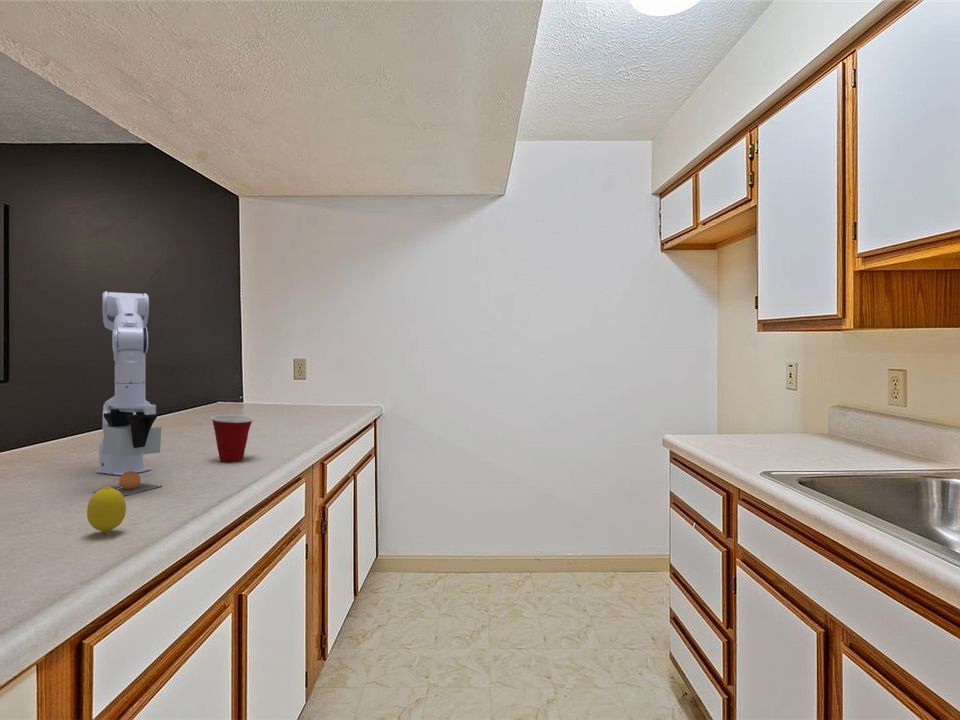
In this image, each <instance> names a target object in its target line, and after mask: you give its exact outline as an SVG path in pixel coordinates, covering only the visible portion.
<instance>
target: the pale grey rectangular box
mask: <svg viewBox="0 0 960 720" xmlns="http://www.w3.org/2000/svg"><path fill="white" fill-rule="evenodd" d="M103 438H104V441H103V454H106V455H112V456H118V457H122V456H132V455H141V454H143V455H148V454H149V455H150V454H159V453H161V443H162V442H161V441H162V427H161V426H154V425H152V426H151V428H150V431H149V434H148V437H147V441H146V444H145V447H140V448H134V446H133V441H132V431H131V427H130V426H121V427H104V433H103Z"/></svg>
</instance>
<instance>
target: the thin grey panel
mask: <svg viewBox="0 0 960 720" xmlns="http://www.w3.org/2000/svg"><path fill="white" fill-rule="evenodd" d="M160 486H161V485H157V484H151V483H144V482H140V484H139V485H138V486H137V487H136V488H135V489H131V490H125V489H123V488H121V486H120V485H118V487H117V486H114V487H112V488H113V489H116V490H118V491H119V492H121V494H122V495H123V497H126V496H125V495H127V496H130V495H129V494H131V495H134V494H133V493H135V494H138V493H137V492H139V493H141V492H140V491H143V492H146V491H145V490H147V491H150V490H149V489H151V490H153V489H152V488H155V489H157V488H156V487H159V488H161V487H160ZM118 488H119V489H118ZM97 491H98V490H96V491H93V492H94V493H93V494H95V493H96V492H97Z"/></svg>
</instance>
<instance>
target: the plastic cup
mask: <svg viewBox="0 0 960 720" xmlns="http://www.w3.org/2000/svg"><path fill="white" fill-rule="evenodd" d="M210 419H211V421H212V425H213V430H214V435H215V443H216V447H217V451H218V457H219V461H220V462H221V463H238V462H242V461H243V460H244V457H245V451H246V448H247V442H248V438H249V431H250V428H251V427H252V426H251V425H252V422H253V421H254V419H255V418H254V417H252V416H249V415H240V414H217V415H212V416H210Z"/></svg>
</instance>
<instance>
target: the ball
mask: <svg viewBox="0 0 960 720" xmlns="http://www.w3.org/2000/svg"><path fill="white" fill-rule="evenodd" d="M119 476H120V475H119ZM140 483H141V476H140V474H139V473H136V472H134V471H128V472H125V473H123V474H122V475H121V476H120V477H119V479H118V484H119V486H121V487H122V488H123V489H125V490H131V489H135V488H136V487H137V486H138V485H139V484H140Z"/></svg>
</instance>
